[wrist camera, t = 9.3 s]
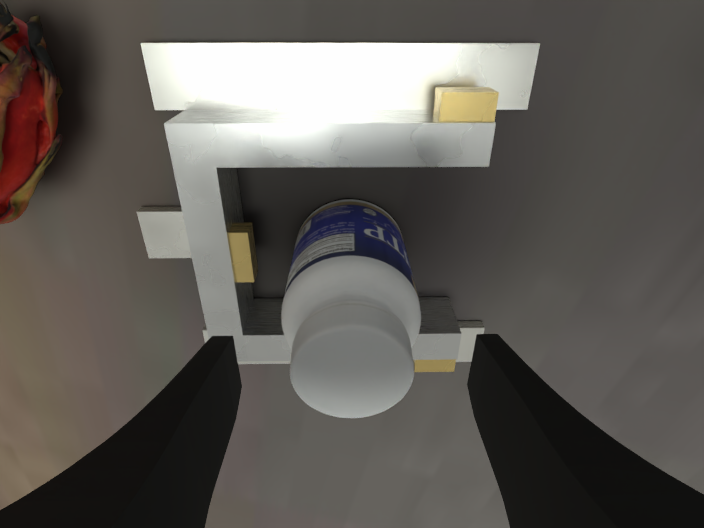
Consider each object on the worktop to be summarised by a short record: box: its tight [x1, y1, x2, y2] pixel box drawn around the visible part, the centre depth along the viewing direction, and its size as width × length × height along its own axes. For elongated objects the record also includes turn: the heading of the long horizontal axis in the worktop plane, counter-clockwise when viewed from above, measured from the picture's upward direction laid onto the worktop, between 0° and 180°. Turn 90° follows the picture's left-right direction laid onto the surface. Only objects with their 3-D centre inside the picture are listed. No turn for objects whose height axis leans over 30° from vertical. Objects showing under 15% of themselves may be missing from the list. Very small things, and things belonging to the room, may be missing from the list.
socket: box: [137, 42, 540, 372], centre depth 20 cm, size 17×16×3 cm
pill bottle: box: [281, 199, 421, 418], centre depth 18 cm, size 5×5×9 cm
